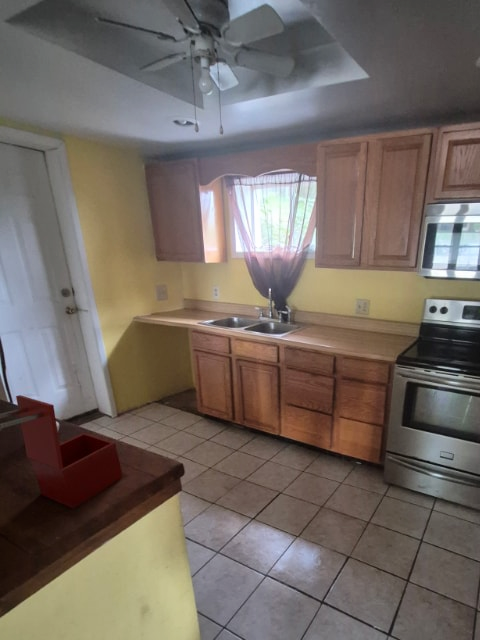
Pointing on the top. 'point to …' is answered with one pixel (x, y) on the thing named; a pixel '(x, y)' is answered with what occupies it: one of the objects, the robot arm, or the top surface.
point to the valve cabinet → (79, 470)
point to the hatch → (37, 430)
